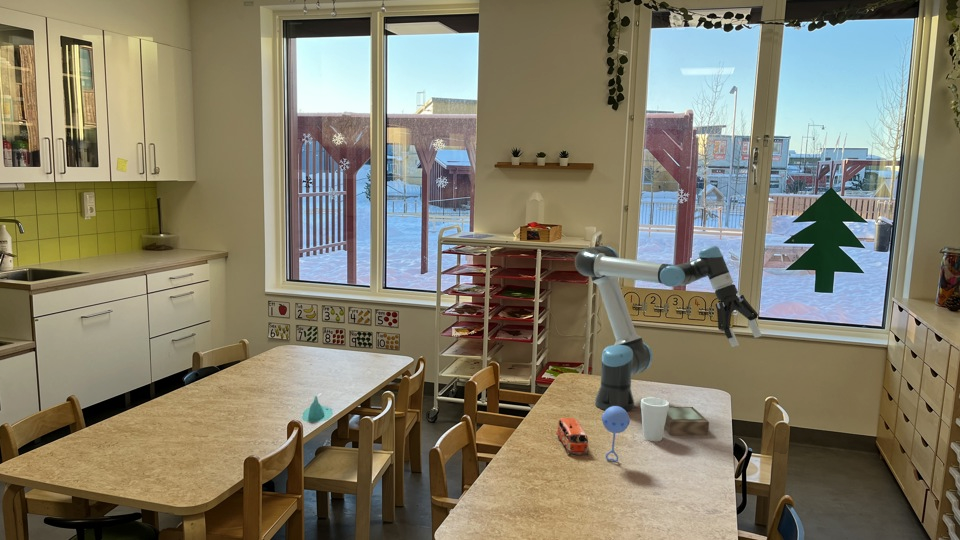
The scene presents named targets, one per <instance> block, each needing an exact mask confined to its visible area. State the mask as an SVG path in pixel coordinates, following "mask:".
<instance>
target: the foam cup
mask: <svg viewBox="0 0 960 540" xmlns="http://www.w3.org/2000/svg"><path fill="white" fill-rule="evenodd" d="M669 407H670V402H669V401H668V400H667V399H664V398H659V397H644V398H641V400H640V410H641V423H642V436H643V437H642V438H644V439H645V440H646V441H651V442H661V441H662V440H663V435H664V431H665V429H664V426H665V422H666V417H667V412H668V410H669Z"/></svg>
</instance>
